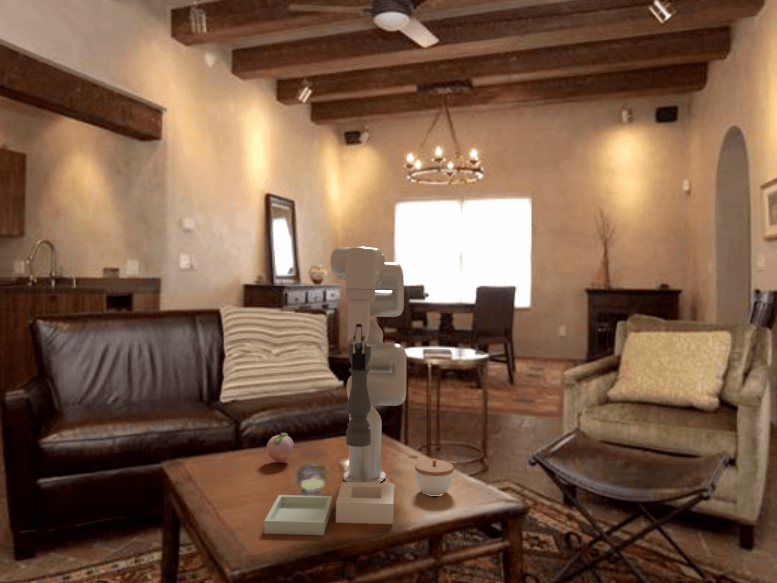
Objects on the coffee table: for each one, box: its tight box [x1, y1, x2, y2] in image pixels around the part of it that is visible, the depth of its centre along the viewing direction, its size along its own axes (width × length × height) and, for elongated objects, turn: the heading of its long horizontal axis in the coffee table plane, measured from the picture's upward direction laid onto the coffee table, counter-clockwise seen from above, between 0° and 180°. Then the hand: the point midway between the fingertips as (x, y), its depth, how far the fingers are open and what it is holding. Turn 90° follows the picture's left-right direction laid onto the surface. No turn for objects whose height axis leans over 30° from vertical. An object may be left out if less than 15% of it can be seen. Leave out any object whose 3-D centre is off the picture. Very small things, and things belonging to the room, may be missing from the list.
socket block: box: [335, 481, 395, 525], centre depth 151 cm, size 14×14×5 cm
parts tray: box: [263, 494, 333, 536], centre depth 146 cm, size 16×14×3 cm
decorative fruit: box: [266, 432, 295, 464], centre depth 188 cm, size 9×8×10 cm
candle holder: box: [345, 343, 371, 447], centre depth 149 cm, size 6×6×25 cm
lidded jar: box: [414, 458, 454, 495], centre depth 165 cm, size 11×11×9 cm
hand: (359, 366), depth 149 cm, fingers closed on candle holder, 5 cm apart
